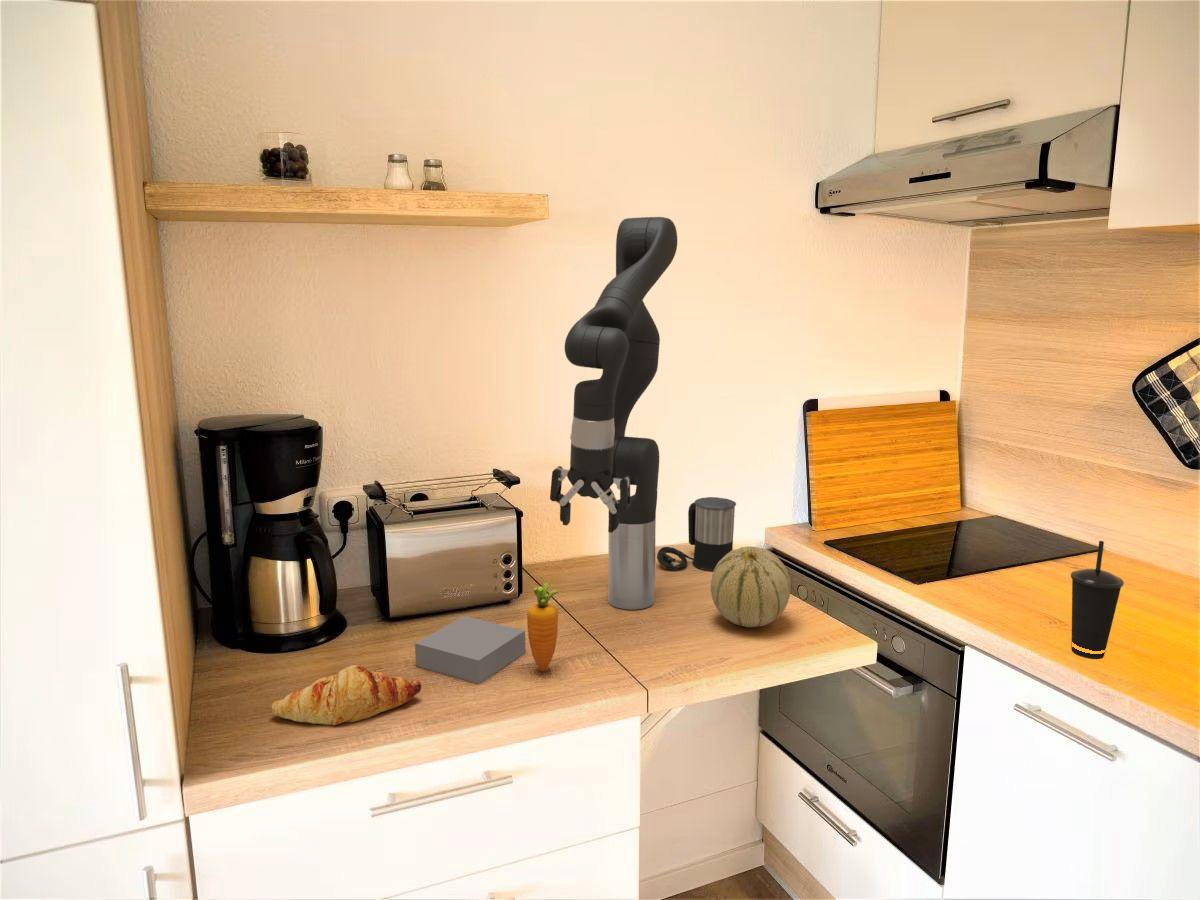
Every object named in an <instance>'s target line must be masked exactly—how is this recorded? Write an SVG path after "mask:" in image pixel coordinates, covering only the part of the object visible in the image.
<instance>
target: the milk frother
mask: <svg viewBox="0 0 1200 900" xmlns="http://www.w3.org/2000/svg"><path fill="white" fill-rule="evenodd" d="M736 506H737V503H736V501H734V500H732V499H729V498H725V497H724V498H723V497H716V496H715V497H713V496H707V497H700V498H696V499H695V501H694V502H692V503H691V504H690V505H689V506H688V512H687V513H688V514H687V516H688V517H687V519H688V520H687V521H688V522H687V523H688V543H689V545H690V546H694V551H693V557H691V556H689V555H687V554H686V553H684V552H683V551H680V549H676V548H674V547H672V546H671V547H670V546H663V547H661V548H660V549H659V550H658V552H657V554H656V559H657V562H658V563H659V564H660V565H661V566H662V567H664V568H666V569H669V570H683V569H684V568H686V567H687V565H688V560H687V559H689V560H692V565H693V566H694V567H695V568H698V569H699V570H703V571H709V572H714V569H715V567H716V565H717V564H718V562H719V561H720V560H721V559H722V558H723V557H724V556H725V555H726V554H728V553H729V552H730V551H732V550H734V549H733V547H734V529H735V511H736V510H735V508H736ZM669 554H672V555H675V556H677V557H678V558H679V559H680V560H681V562H680V563H677V564H676V563H675V562H676V558H674V557H672V556H670V555H669Z"/></svg>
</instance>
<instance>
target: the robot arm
mask: <svg viewBox="0 0 1200 900" xmlns="http://www.w3.org/2000/svg"><path fill="white" fill-rule="evenodd" d="M677 249H678V232H677V227H676V225H675V223H674V222H673V220H672V219H670V218H668V217H665V216H649V217H648V216H647V217H646V216H645V217H643V216H642V217H629V218H624V219H622V221H621V222H620V223H619V225H618V228H617V232H616V239H615V277H614V278H612V279H611V280H610V281H609V282H608V283H607V284H606V285H605V286H604V288H603V290H602V291H601V294H600V296H599V297H598V299H597V301H596V302H595V304H594V307H592V308H591V309H590V310H589V311H588V312H586V313H585V314H584V315H583V316H582V317H581V318H579V320H577V321H576V322H575V323H574V324H573V325H572V327H571V328H570V330H569V331H568V333H567V335H566V337H565V341H564V354H565V356H566V359H567V361H568V362H570V364H572V365H574V366H576V367H581V368H588V369H589V368H590V369H596V370H597V369H599V370H602V373H601V375H600V377H599V378H598V379H588V380H586V379H585V380H582V381H580V382H577V384H576V385H575V387H574V392H573V416H572V417H573V418H572V422H571V433H570V459H569V460H570V462H569V469H566V468H564V467H562V466H560V465H558V466H557V467H556V468H554V469H553V471H551V472H552V474H551V480H550V481H551V483H550V494H549V500H550V501H551V502H556V503H558V504H559V510H560V511H559V520H560V522H561V523H562V525H563V526H566V527H567V526H568V525H569V524H570V522H571V513H572V512H571V509H572V508H571V507H572V504H571V502H570V501H571V499H573V497H575V495H576V494H578V495H579V496H580V497H584V498H587V497H590V498H592V499H597V500H598V498H599V499H600V500H601V502H602V503H603V504H604V505H605V506H606V507H607V509H608V527H607V528H608V529H607V532H608V559H607V560H608V566H607V567H608V574H607V575H608V576H607V577H608V578H607V579H608V584H607V587H608V591H607V596H608V599H607V601H608V603H609V604H610V605H611V606H613V607H615V608H618V609H621V610H622V609H623V610H632V611H633V610H644V609H647V608H649V607H651V606H653V605H654V604H655V597H656V593H655V591H656V590H655V589H656V587H655V586H656V528H657V527H656V525H657V523H656V520H657V519H656V514H657V505H658V485H659V473H660V471H659V470H660V450H659V445H658V443H657V442H656V440H655V439H652V438H649V437H648V438H646V437H637V436H635V437H634V436H625V435H626V429H627V424H628V421H629V417H630V415H631V412H632V411H633V409H634V407H635V405H636V403H637V402H638V400H639V399H640V398H641V397H642V395H643V394H644V393H645V391H646V390H647V389H648V387H649V386H650V384H651V383H652V381H653V379H654V378H655V376H656V373H657V371H658V367H659V356H660V343H661V342H660V341H661V338H660V333H659V329H658V327H657V324H656V322H655V321H654V318H653V317H652V316H651V313H650V312H649V310H648V308H647V306H646V305H645V302H644V299H645V297H646V296H647V294H648V293H649V292H650V291H651V289H652V288H653V287H654V286H655V284H656V283H657V282H658V281H659V279H660V278H661V277H662V275H664V273H665V272H666V270H667V269H668V267H670V265H671V264H672V262H673V260H674V258H675V255H676V254H677ZM566 477H567V479H568V481H569V482H570V483H569V484H571V486H572V487H571V488H570V489H569V490H568V491H567V492H566V493H565V494H564V493H562V485H563V481H565V479H566ZM614 484H615V486H616V488H617V489H618V490H619V499H617V498H616V495H615V493H614V491H613V490H612V488H611V486H612V485H614ZM631 486H636V487H635V492H634V494H633V495H631Z"/></svg>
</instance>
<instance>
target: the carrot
mask: <svg viewBox="0 0 1200 900" xmlns="http://www.w3.org/2000/svg"><path fill="white" fill-rule="evenodd" d="M548 588H549V583H548V582H545V583H543V586H538V587H535V588H533V593H534V594H535V597H536V599H537V603H535V604H533V605H532V606H531V607H529V609H528V610H527V613H526V618H527V619H526V620H527V623H526V624H527V636H528V642H529V648H530V650H531V655H532V657H533V659H534V662H535V664H536V665H537V667H538V669H539V670H540V671H541V672H543V673H544V672H546V671H547V670H548V667H549V666H550V664H551V662H552V659H553V657H554V655H555V650H556V647H557V646H556V645H557V640H558V631H559V629H558V628H559V611H558V608H556V606H554V605H553V604H551V603H549V601H550V600H551V598H552V597H553V596H554V595H555V594H557V593H559V592H558V590H557V589H554V590H551V591H550V592H549V593H548ZM547 593H548V594H547Z"/></svg>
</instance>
